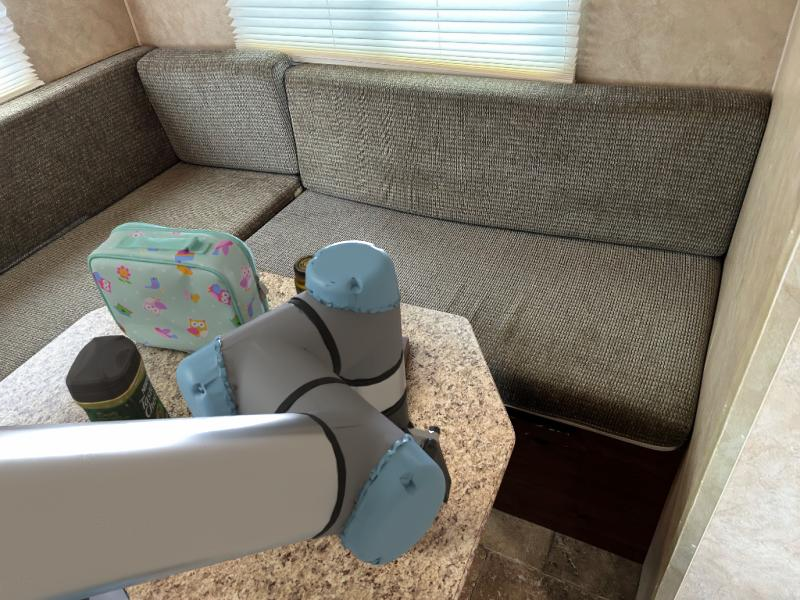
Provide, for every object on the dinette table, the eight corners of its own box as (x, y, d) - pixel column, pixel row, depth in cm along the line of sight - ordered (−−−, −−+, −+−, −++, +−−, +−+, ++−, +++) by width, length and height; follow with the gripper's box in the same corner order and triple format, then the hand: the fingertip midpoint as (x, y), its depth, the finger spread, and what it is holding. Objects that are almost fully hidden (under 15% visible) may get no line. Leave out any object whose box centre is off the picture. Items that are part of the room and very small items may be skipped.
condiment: (342, 328, 103) (332, 271, 95) (293, 338, 102) (278, 281, 94) (337, 301, 108) (326, 246, 101) (290, 311, 108) (276, 255, 100)
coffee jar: (167, 474, 83) (115, 380, 71) (109, 479, 83) (48, 386, 71) (182, 418, 90) (139, 325, 78) (130, 423, 90) (78, 331, 78)
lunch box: (287, 324, 105) (259, 218, 91) (262, 367, 97) (228, 258, 84) (152, 309, 111) (107, 208, 97) (119, 348, 103) (66, 244, 90)
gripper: (481, 374, 59) (478, 505, 74) (281, 350, 64) (314, 478, 78) (471, 434, 54) (469, 564, 68) (252, 403, 58) (293, 530, 73)
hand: (386, 518), depth 73 cm, fingers closed on pad loose, 8 cm apart
